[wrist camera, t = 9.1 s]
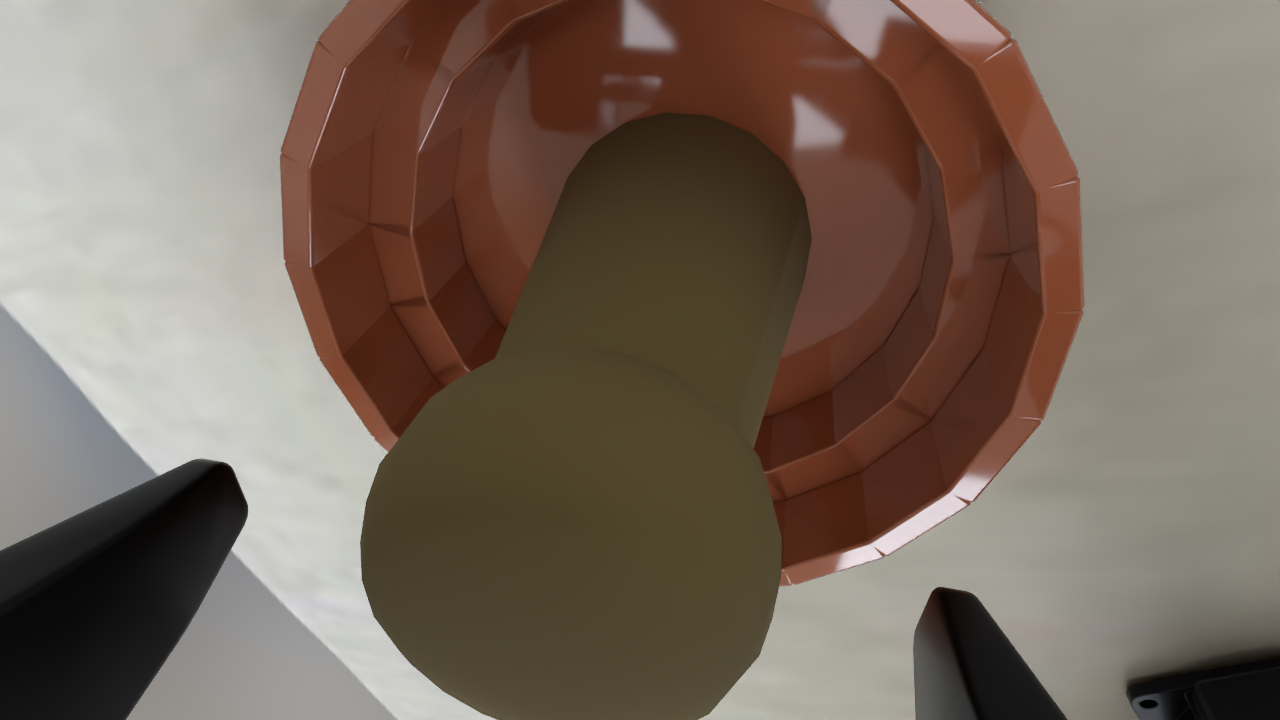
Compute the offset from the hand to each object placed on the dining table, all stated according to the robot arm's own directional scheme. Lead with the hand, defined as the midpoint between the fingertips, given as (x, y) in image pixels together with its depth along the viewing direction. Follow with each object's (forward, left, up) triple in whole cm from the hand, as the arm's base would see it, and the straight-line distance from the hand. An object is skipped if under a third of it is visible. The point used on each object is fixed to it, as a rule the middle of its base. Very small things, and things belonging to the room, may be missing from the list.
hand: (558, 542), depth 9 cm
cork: (0, 0, -10) cm, 10 cm away
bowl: (0, 0, -10) cm, 10 cm away
